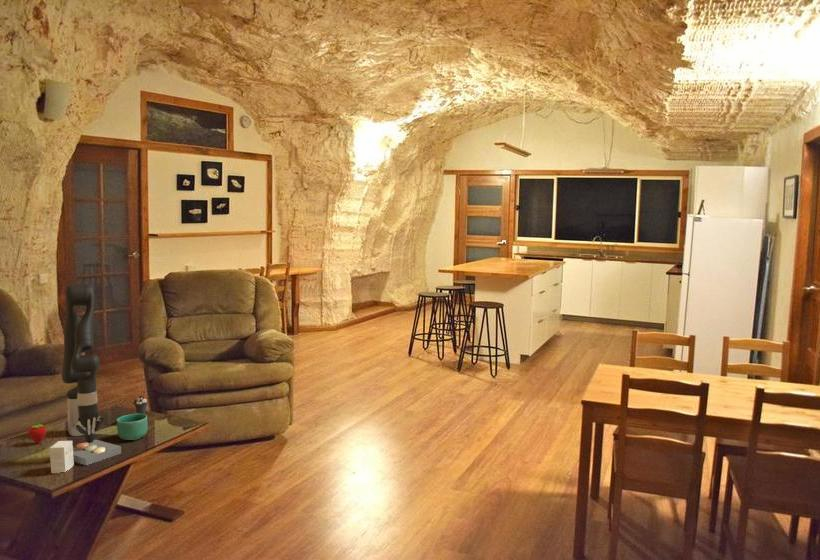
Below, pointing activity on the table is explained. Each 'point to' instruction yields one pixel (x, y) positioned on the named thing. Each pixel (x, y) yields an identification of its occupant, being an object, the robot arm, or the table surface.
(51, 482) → the table surface
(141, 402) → the sundae
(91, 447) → the button sage
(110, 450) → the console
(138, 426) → the mug
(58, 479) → the table surface
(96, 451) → the button cream
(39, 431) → the strawberry
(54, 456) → the small box
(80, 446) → the button terracotta
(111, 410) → the table surface
